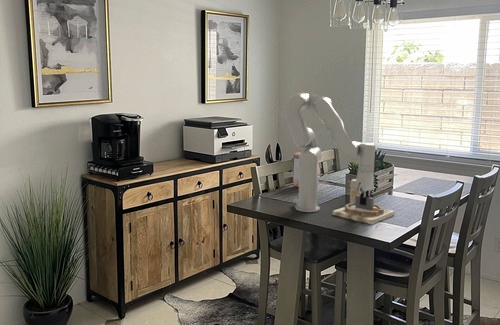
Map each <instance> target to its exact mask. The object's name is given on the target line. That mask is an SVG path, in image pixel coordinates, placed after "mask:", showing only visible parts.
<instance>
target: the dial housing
mask: <svg viewBox="0 0 500 325" xmlns="http://www.w3.org/2000/svg"><path fill="white" fill-rule="evenodd" d="M353 205H355V202H352V203H350V202H349V203H347V204H345V205H344V206H343V207H340V208H338V209H333V210H332V215H333V216H336V217H341V218H344V219H349V220H353V221H356V222H360V223H361V222H362V223H365V224H369V225H374V224H376V223H379V222H382V221H383V220H386V219H388V218H390V217H393V216H395V212H396V211H395V210H391V209H387V208H383V207H382V206H381V205H380V204H377V203H373V206H374V207H376V208H378V209H377V211H358V210H356V209H355V210H353V209H350V206H353Z"/></svg>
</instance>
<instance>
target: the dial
mask: <svg viewBox="0 0 500 325" xmlns="http://www.w3.org/2000/svg"><path fill="white" fill-rule="evenodd" d="M374 199H375V198H374V197H371V196H369V197H366V205H361V204H360V195H356V200H355V205H353V206H350V209H353V210H355V209H356V210H358V211H377V209H378V208H376V207H374V206H373V204H374Z"/></svg>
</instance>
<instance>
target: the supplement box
mask: <svg viewBox="0 0 500 325" xmlns="http://www.w3.org/2000/svg"><path fill="white" fill-rule="evenodd" d="M356 179H357V178H352V179H351V180H350V188H349V189H350V190H349V191H350V192H349V203H352V202H355V200H356V195H359V194H357V192H358V191H357V190H356ZM362 193H363V192H362ZM363 194H364V193H363Z"/></svg>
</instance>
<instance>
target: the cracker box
mask: <svg viewBox="0 0 500 325" xmlns="http://www.w3.org/2000/svg"><path fill="white" fill-rule="evenodd" d="M301 153H302V151H301V152H295V153H293V175H292V176H293V177H292V178H293V179H292V180H293V181H292V186H293V187H294V188H299V156H300V154H301Z"/></svg>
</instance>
